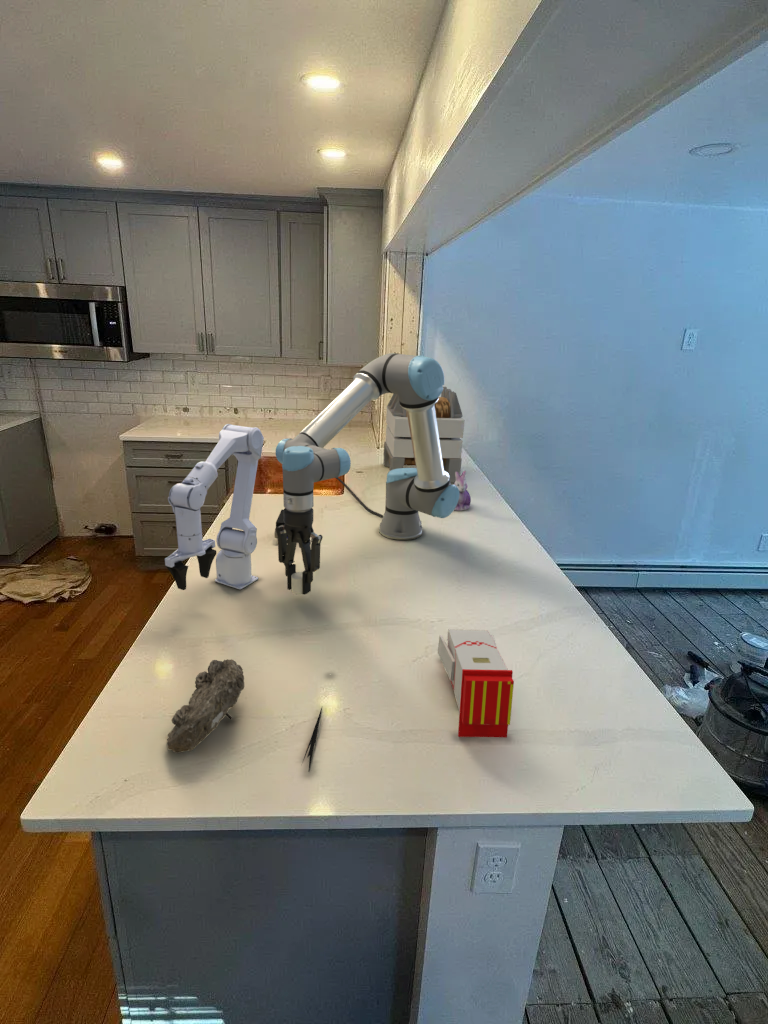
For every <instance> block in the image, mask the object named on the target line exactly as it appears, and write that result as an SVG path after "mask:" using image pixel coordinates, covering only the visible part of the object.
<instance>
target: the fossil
mask: <svg viewBox="0 0 768 1024" xmlns="http://www.w3.org/2000/svg"><path fill="white" fill-rule="evenodd" d="M243 670H244V669H243V667H242V665H240V664H237V662H236V661H235V660H234V659H232V658H231V659H227V658H226V659H224V660H223V661H222V660H217V659H212V660H211V661H210V663H209V665H208V666H207V671H201V672H199V673H198V674H197V675H196V676H195V680H194V684H195V685H194V687H195V689H194V690H193V693H192V694H191V697H190V698H189V700H188V704H184V705H182V706H181V707H180V709H177V710H176V711H175V713H174V715H173V716H172V718H171V723H172V724H173V727H172V730H171V731H170V732H168V734H167V738H166V741H167V742H166V745H167V749H168V750H169V751H173V752H174V753H176V754H178V753H182V752H188V751H189V752H192V751H193V750H195V748H196V747H197V746H199V744H200V743H201V742H203V741H204V740H205V739H206V738H207V737H208V736H209V735H210V734H211V733H212V732H214V730H215V729H217V727H218V726H219V724H220V722H221V721H222V720H223V719H224V718H225V716H226V717H227V719H229V720H233V717H232V715H230V714H229V710H230V709H231V708H234V706H235V704H236V703H237V702H238V699H239V697H240V695H241V693H242V691H243V690H245V689H244V688H245V675H244V671H243Z"/></svg>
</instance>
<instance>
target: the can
mask: <svg viewBox="0 0 768 1024" xmlns="http://www.w3.org/2000/svg"><path fill="white" fill-rule="evenodd" d="M302 572H303V571H296V573H293V574H292V575H291V590H290V592H291V593H292V594H295V595H303V588H302Z"/></svg>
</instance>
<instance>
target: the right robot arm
mask: <svg viewBox="0 0 768 1024" xmlns="http://www.w3.org/2000/svg"><path fill="white" fill-rule="evenodd" d="M444 385H445V373H444V370H443V367H442V366H441V364H440V363H439V362H438V361H437V360H436V359H435V358H432V357H428V356H425V355H413V354H405V353H404V354H403V353H397V352H390V353H385V354H383V355H380V356H378V357H376V358H375V359H373V360H371V361H370V362H368V363H367V364H366V365H364V366H363V367H362V368H360V369H359V370H358V371H357V373H356V374H354V375H353V378H352V382H351V383H350V384H349V385H348V386H347V387H346V388H345V389H344V390H343V391H341V392H340V393H339V394H338V395H337V396H336V397H335V398H334V399H333V400H332V401H331V402H330V403H329V404H328V405H327V406H326V407H324V409H323V410H322V411H321V412H320V413H319V414H317V415H316V417H315V418H313V420H312V421H310V422H309V423H308V424H307V425H306V426H305V427H304V428H303V429H302V430H301V431H300V432H299V433H298V434H297V435H295V437H293V438H290V437H289V438H283V439H281V440H279V442H278V443H277V445H276V446H275V458H276V459H277V461H278V462H279V463H280V464H281V467H282V487H283V489H282V490H283V493H282V497H283V507H284V509H283V510H284V523H285V524H284V525H281V526H279V527H277V528H276V527H275V528H276V533H277V536H278V538H277V553H278V555H277V557H278V562H279V563H282V564H283V565H284V573H285V574H284V575H285V577H287V578H286V579H287V581H286V582H287V583H286V584H287V586H286V587H287V590H289V591H291V575H292V574H293V573H296V572H297V564H296V563H295V556H296V555H295V554H296V549H297V545H298V547H299V549H300V552H301V557H302V563H303V567H304V568H303V569H304V570H303V571H301V572H302V588H303V594H302V595H304V596H305V595H307V594H309V593H310V592H312V582H313V581H314V572H317V571H318V570H319V569H321V543H322V540H323V537H324V536H323V535H322V534H317V533H315V530H314V528H313V523H314V508H313V507H314V505H315V504H314V487H315V486H314V485H315V483H319V482H322V481H327V480H331V479H336V480H337V481H339V482H340V483H341V484H342V485H343V486H344V488H346V490H348V491H349V492H350V494H351V495H352V496H353V497H354V498H355V499H356V500H357V501H358V502H359V503H360V504H361V506H363V507H364V509H365V510H367V511H368V512H370V514H374V515H376V516H378V517H380V518H381V522H379V527H378V533H379V534H380V535H381V536H382V537H385V538H387V539H389V540H395V541H410V540H415V539H418V538H420V537H421V536H422V535H423V525H422V520H421V518H420V515H419V512H420V513H423V514H426V515H428V516H431V517H433V518H439V519H445V518H448V517H450V515H452V514H453V512H454V511H455V510H454V509H455V507H456V505H457V503H458V500H459V489H458V487H457V486H455V485H454V483H450V476H449V474H448V473H447V472H446V471H444V468H443V461H442V454H441V447H440V440H439V433H438V426H437V420H436V413H435V406H434V405H435V403H436V402H437V401H438V399H439V398H438V397H441V393H442V391H443V387H444ZM385 394H392V395H393V394H398V397H399V402H400V406H401V407H402V408H404V409H406V412H407V418H408V424H409V429H410V435H411V441H412V446H413V452H414V458H415V463H416V466H415V467H404V468H398V469H394V470H391V471H390V470H388V472H387V475H386V480H385V504H384V505H385V507H384V508H385V509H384V513H383V514H381V513H379V512H377V511H374V510H373V509H371V508H370V507H368V506H367V505H366V504H365V503H364V502H363V501H362V500H361V499H360V498H359V497H358V496H357V494H356V493H354V491H353V490H352V489H351V488H350V487H349V486H348V485H347V484H346V483H345V482H344V481H343V480H342V479H341V478H339V477H342V476H345V475H347V474H348V473H349V472H350V470H351V464H352V463H351V462H352V461H351V456H350V455H349V453H348V451H346V450H347V449H344V448H342V447H332V448H325V447H326V446H327V445H328V444H329V443H330V442H331V441H332V440H333V439H334V438H335V437H336V436H337V435H338V434H339V433H340V432H341V431H342V430H343V429H344V428H345V427H346V426H347V425H348V424H349V423H350V422H351V421H352V420H353V419H354V418H355V417H356V416H357V415H358V414H359V413H360V412H362V410H363V409H364V408H365V407H366V406H367V405H368V404H369V403H370V402H371V401H376V400H378V399H379V398H380V397H381V396H383V395H385ZM287 535H288V539H287Z"/></svg>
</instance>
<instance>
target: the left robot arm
mask: <svg viewBox="0 0 768 1024" xmlns="http://www.w3.org/2000/svg"><path fill="white" fill-rule="evenodd" d="M264 440H265V437H264V434H263V433H262V431H261V429H260V428H259V427H256V426H253V427H251V426H243V425H236V424H231V423H226V424H225V425H224V426H223V427H222V429H221V430H220V431H219V432H218V441H217V444H216V445H215V446H214V448H213V449H212V450H211V452H210V454H209V455H208V456H207V458H206V460H204V461H198V462H197V463H196V464H195V465H194V467H193V468H192V469H191V470H190V471H189V473H188V474H187V475H186V477H184V479H183V480H182V482H178V483H176V484H173V486H172V487H171V488H170V489H169V493H168V497H167V502H168V504H169V505H170V506H171V508H172V513H173V514H174V515H175V527H176V538H177V549H176V550H175V551H173V552H172V553H170V555H169V556H167V557H165V558H164V565H165V568H166V569H167V570H168V571H169V572H170V574H171V575H172V578H173V580H174V582H175V585H176V587H177V589H178V590H181V591H185V590H187V573H188V569H189V566H188V565H186V564H184V562H183V561H185V560H187V559H190V558H193V557H196V559H197V563H198V570H199V571H198V572H199V575H200V577H202V578H205V579H208V578H209V577H210V573H211V572H210V571H211V569H212V568H211V567H212V564H213V561H214V559H215V572H216V578H215V579H214V583H215V582H216V583H218V584H221V585H224V586H228V587H230V588H233V589H237V590H243V589H244V588H246V587H248V586H249V585H251V584H252V583H255V582H256V581H258V580H259V577H258V576H256V575H252V554H253V552H255V550H256V549H257V545H258V537H257V530H258V528H257V526H256V525H254V523H253V522H252V521H251V520H250V517H251V509H252V504H253V498H254V497H253V496H254V492H255V491H254V490H255V484H256V478H257V477H256V476H257V472H258V471H257V470H258V465H259V460H260V459H261V458H262V453H263V447H264ZM231 456H234V457H235V458H236V460H237V469H236V474H235V481H234V487H233V494H232V499H231V507H230V513H229V517H228V518H227V519H225V520H224V521H222V522H221V523H220V528H219V531H218V533H217V534H216V538H215V539H216V540H215V539H213V538H207V539H204V540H203V529H202V528H203V527H202V516H201V515H202V512H201V508H202V507H203V506H204V504H205V501H206V496H207V495H208V490H209V489H210V487H211V486H212V485H213V484H214V482H215V481H216V480H217V478H218V477H219V473H218V470H219V469H220V467H222V465H224V463H225V462H226V461H227V460H228V459H229V458H230V457H231ZM216 546H217V547H218V549H220V550H219V551H218V552H217V550H216V549H214V548H216ZM215 557H216V558H215Z"/></svg>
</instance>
